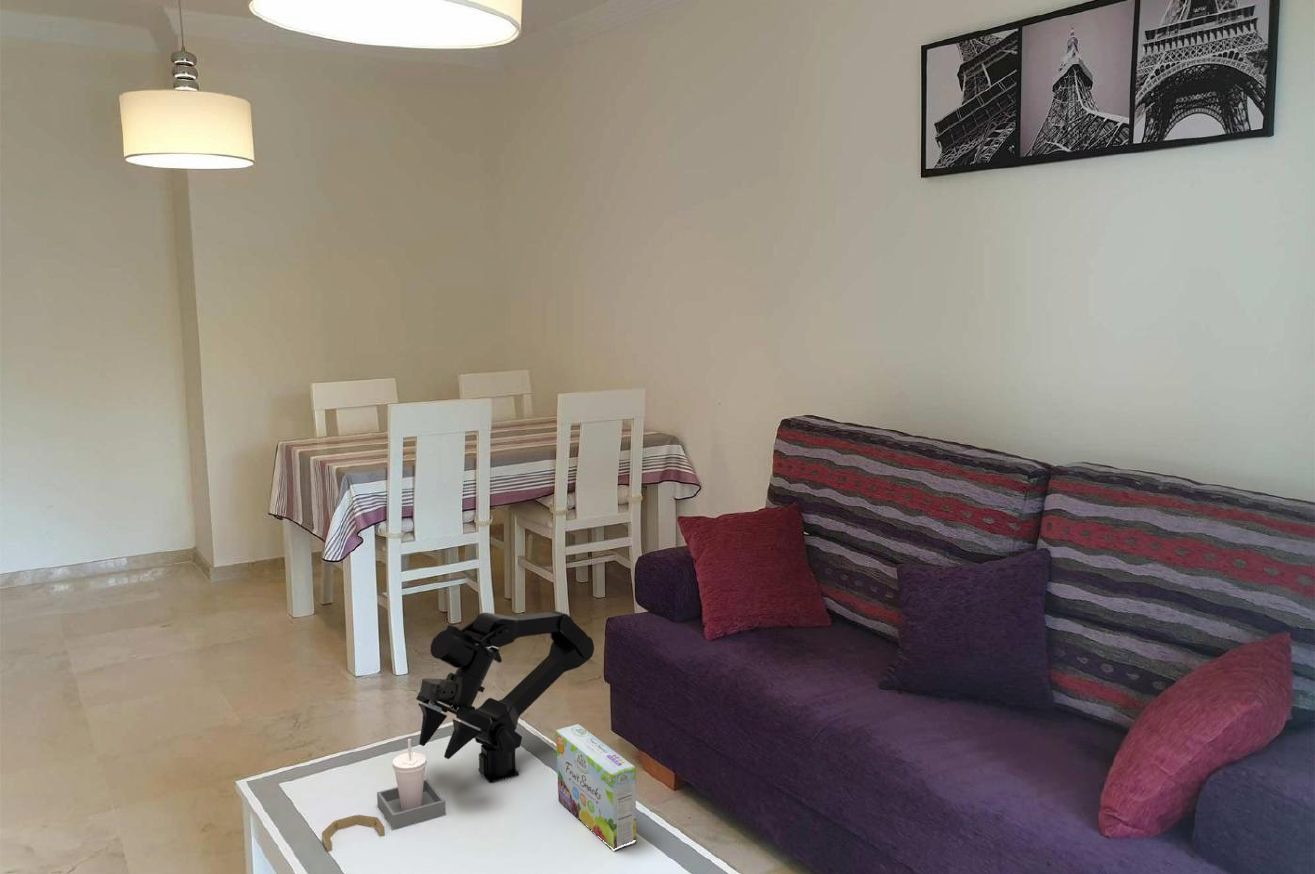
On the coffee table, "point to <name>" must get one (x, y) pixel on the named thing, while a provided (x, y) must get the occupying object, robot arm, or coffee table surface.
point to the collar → (347, 823)
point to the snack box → (596, 785)
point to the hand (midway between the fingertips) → (433, 751)
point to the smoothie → (410, 777)
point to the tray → (398, 818)
